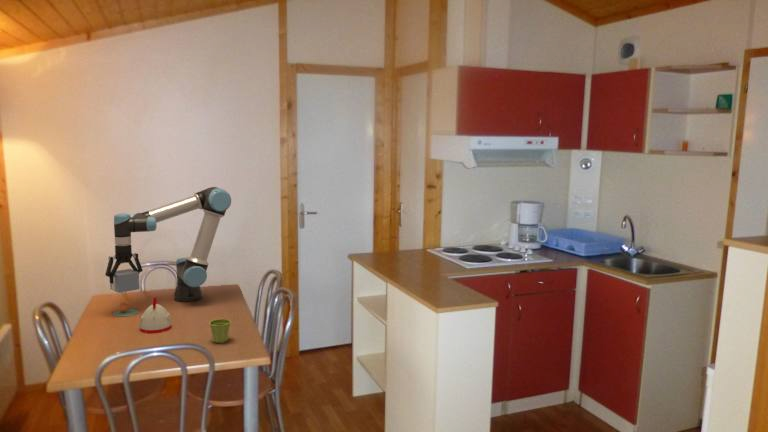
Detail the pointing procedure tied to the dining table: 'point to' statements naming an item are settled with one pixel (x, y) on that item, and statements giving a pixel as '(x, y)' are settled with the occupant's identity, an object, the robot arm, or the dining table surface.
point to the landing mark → (126, 313)
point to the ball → (123, 307)
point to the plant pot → (220, 329)
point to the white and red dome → (155, 319)
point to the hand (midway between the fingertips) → (124, 287)
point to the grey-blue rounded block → (126, 280)
